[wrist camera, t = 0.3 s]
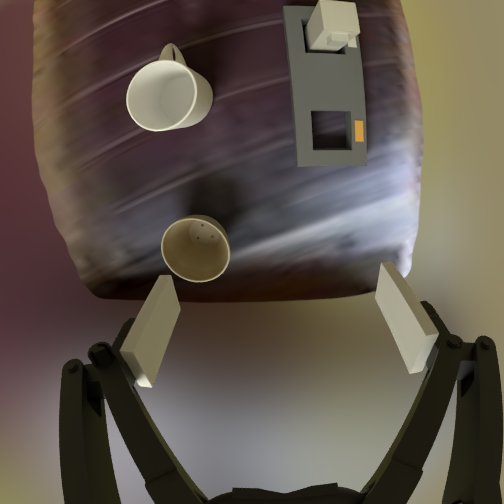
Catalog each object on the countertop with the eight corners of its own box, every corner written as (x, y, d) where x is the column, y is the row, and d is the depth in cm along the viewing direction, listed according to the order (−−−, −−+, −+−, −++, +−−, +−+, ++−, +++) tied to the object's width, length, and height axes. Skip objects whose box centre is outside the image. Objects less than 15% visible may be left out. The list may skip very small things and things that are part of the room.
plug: (304, 29, 30) (319, -1, 19) (331, 30, 30) (354, 3, 19) (308, 58, 32) (325, 37, 21) (335, 59, 32) (361, 40, 21)
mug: (213, 49, 32) (197, 28, 22) (214, 125, 37) (198, 127, 28) (157, 56, 32) (126, 42, 23) (159, 129, 38) (127, 135, 28)
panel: (281, 13, 29) (283, 5, 26) (348, 16, 28) (354, 9, 25) (295, 163, 40) (297, 166, 37) (360, 162, 39) (366, 165, 36)
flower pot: (221, 194, 42) (213, 208, 36) (243, 250, 46) (240, 272, 40) (165, 214, 44) (149, 231, 38) (189, 265, 48) (178, 288, 42)
